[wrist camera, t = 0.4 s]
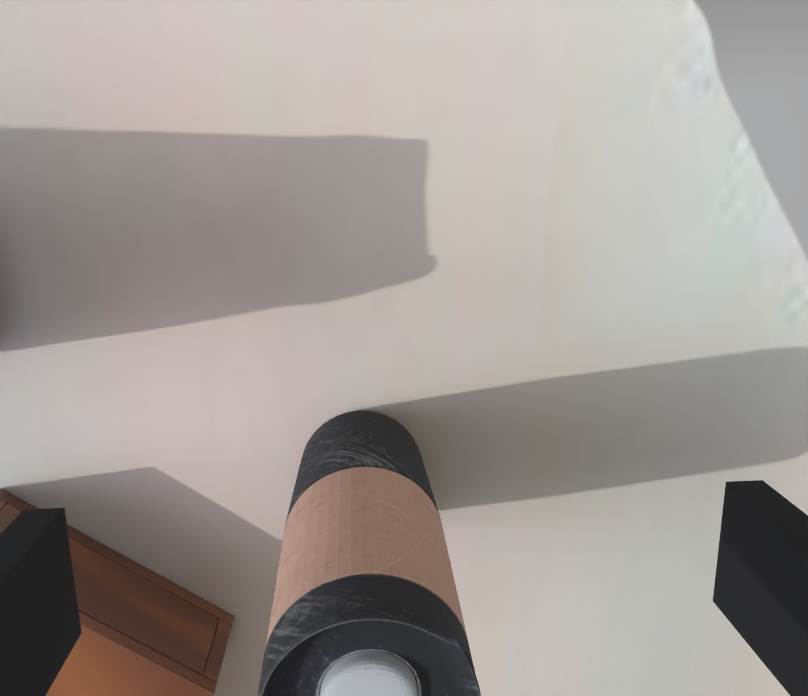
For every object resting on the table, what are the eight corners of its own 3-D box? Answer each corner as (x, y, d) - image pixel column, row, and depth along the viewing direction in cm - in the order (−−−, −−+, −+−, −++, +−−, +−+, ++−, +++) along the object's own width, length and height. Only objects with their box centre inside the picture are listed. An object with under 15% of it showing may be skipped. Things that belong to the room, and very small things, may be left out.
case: (90, 813, 48) (55, 901, 43) (-139, 707, 45) (-210, 786, 39) (234, 616, 45) (217, 682, 40) (-1, 488, 42) (-56, 539, 36)
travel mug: (278, 501, 43) (220, 776, 24) (323, 387, 42) (298, 584, 23) (397, 540, 45) (432, 831, 25) (444, 430, 43) (520, 652, 24)
